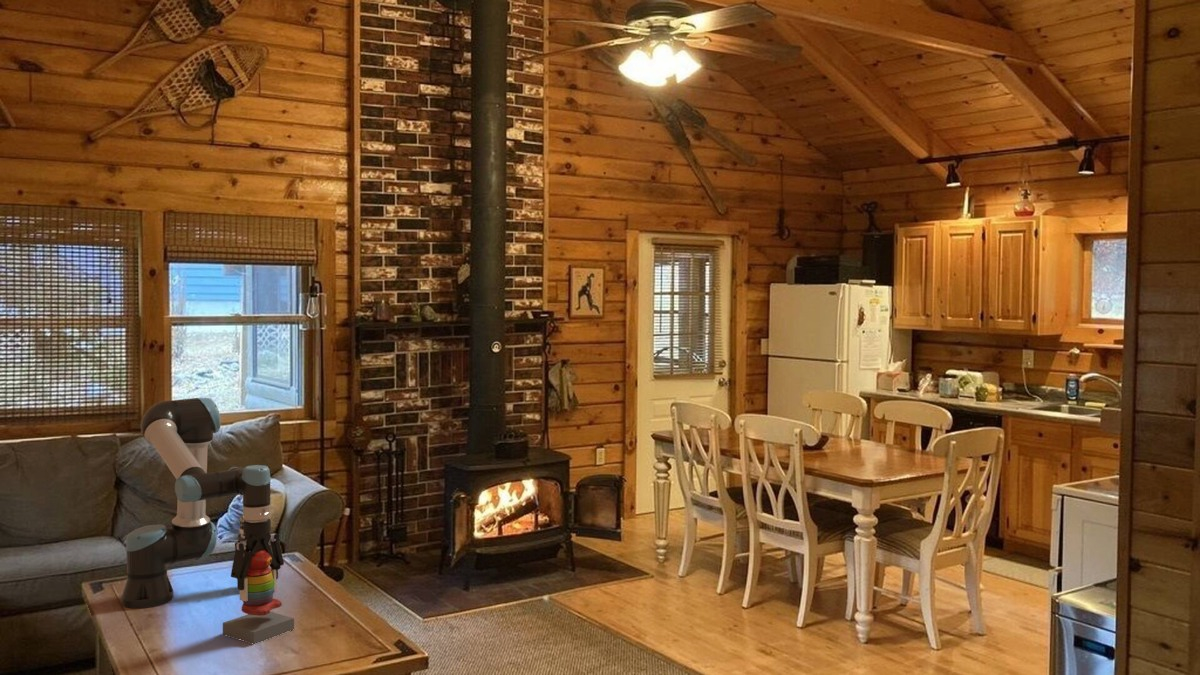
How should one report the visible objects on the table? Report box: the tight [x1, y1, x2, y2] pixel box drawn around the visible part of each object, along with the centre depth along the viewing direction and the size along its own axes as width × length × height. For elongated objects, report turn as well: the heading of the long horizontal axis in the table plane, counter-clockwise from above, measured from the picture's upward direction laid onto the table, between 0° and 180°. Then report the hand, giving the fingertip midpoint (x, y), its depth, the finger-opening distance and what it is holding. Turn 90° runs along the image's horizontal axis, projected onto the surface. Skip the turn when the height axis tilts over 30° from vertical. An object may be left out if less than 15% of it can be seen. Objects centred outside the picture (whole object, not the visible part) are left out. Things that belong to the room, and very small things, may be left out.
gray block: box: [222, 611, 295, 645], centre depth 286 cm, size 14×14×4 cm
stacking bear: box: [240, 550, 283, 616], centre depth 285 cm, size 11×10×18 cm
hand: (258, 595), depth 285 cm, fingers closed on stacking bear, 9 cm apart
